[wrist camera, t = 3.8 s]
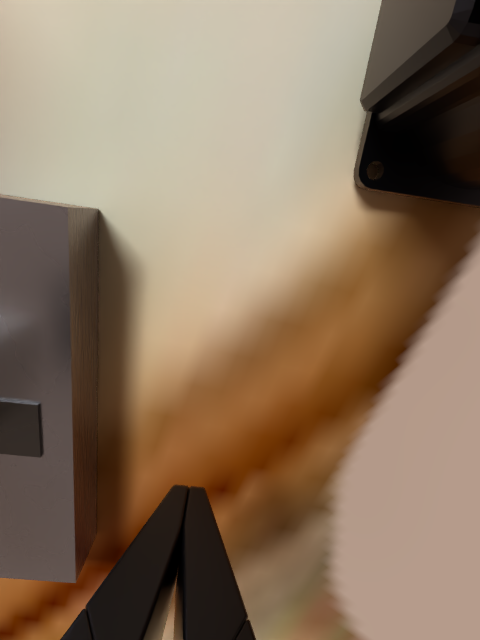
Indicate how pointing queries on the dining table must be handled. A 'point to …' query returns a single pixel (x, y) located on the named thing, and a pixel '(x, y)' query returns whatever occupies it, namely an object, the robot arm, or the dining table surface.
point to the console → (47, 388)
